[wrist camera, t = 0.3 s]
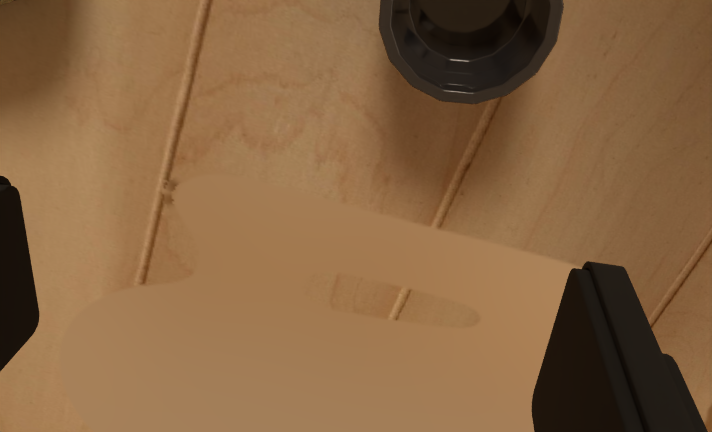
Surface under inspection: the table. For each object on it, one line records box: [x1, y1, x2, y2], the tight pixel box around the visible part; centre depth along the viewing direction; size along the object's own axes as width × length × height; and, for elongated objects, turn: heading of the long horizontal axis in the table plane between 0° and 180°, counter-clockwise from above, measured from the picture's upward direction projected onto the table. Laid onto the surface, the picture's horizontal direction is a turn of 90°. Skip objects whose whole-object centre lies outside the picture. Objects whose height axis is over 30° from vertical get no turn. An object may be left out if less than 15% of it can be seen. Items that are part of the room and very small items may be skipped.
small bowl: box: [379, 0, 564, 104], centre depth 28 cm, size 7×7×6 cm
